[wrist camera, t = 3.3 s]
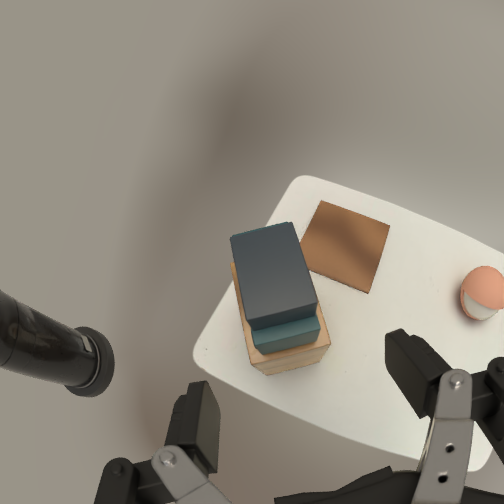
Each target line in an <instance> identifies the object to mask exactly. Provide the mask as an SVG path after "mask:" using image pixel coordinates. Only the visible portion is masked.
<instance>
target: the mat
mask: <svg viewBox="0 0 504 504" xmlns="http://www.w3.org/2000/svg"><path fill="white" fill-rule="evenodd" d="M389 228H390V225H387V224H385V223H382V222H380V221H377V220H374V219H372V218H369V217H366V216H364V215H361V214H358V213H356V212H353V211H350V210H347V209H345V208H342V207H339V206H336V205H333V204H330V203H328V202H325V201H322V200H321V201H320V203H319V206H318V208H317V210H316V212H315V214H314V216H313V218H312V220H311V222H310V224H309V226H308V228H307V230H306V232H305V234H304V236H303V238H302V240H301V242H300V246H301V249H302V252H303V255H304V258H305V261H306V264H307V267H308V269H309V270H311V271H314V272H316V273H319V274H321V275H324V276H326V277H329V278H331V279H333V280H336V281H338V282H341V283H343V284H346V285H348V286H351V287H353V288H356V289H358V290H361V291H363V292H365V293H369V290H370V288H371V285H372V282H373V279H374V276H375V273H376V270H377V267H378V264H379V261H380V258H381V255H382V251H383V248H384V245H385V242H386V238H387V235H388V231H389Z"/></svg>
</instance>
